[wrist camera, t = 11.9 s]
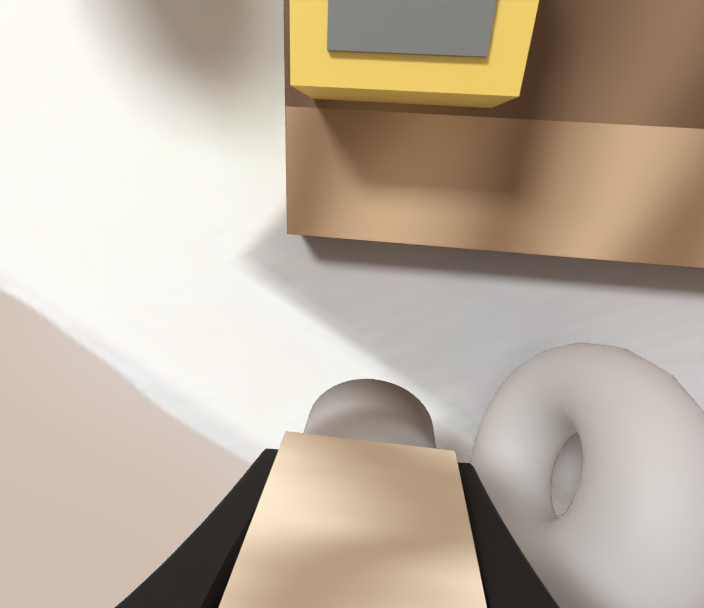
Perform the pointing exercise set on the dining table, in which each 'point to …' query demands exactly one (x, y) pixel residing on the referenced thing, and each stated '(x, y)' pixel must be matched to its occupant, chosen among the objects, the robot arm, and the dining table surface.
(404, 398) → the wooden block with base
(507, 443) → the donut
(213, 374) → the dining table surface
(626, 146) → the board
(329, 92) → the stud finder
